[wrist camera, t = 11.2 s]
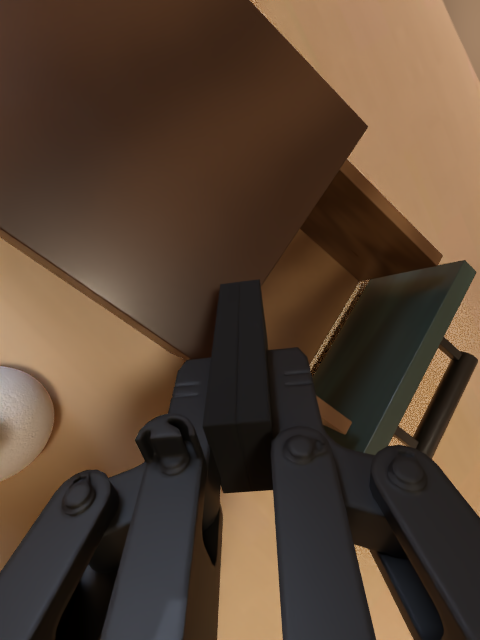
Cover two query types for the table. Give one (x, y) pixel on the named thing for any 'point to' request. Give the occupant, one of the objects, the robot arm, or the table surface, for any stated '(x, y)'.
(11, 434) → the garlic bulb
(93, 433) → the table surface
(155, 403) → the table surface
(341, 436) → the drawer
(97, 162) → the cabinet
